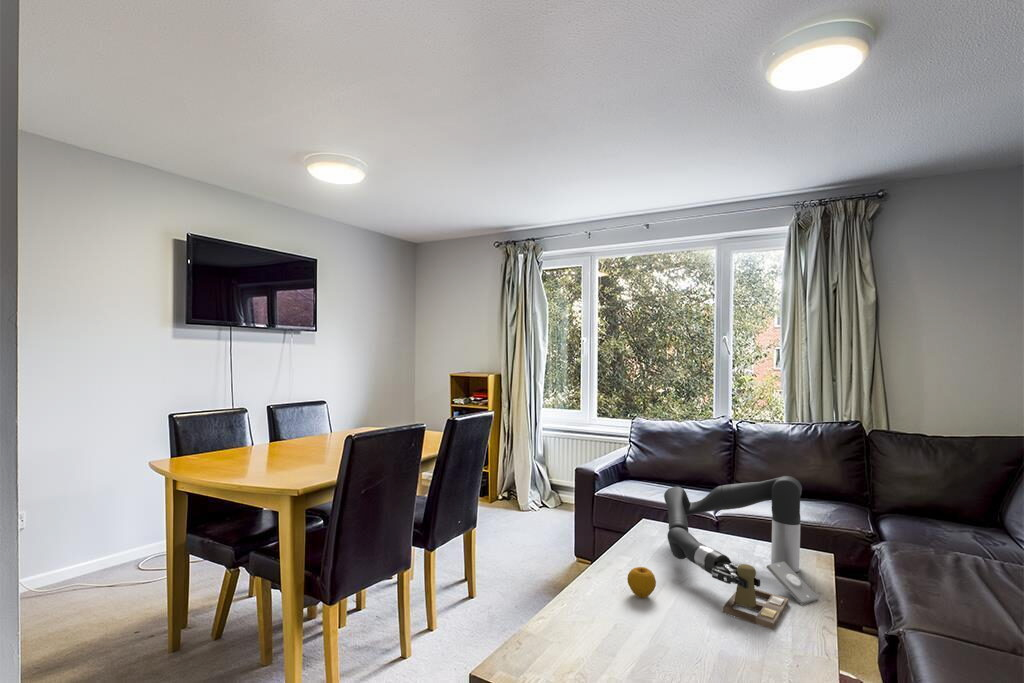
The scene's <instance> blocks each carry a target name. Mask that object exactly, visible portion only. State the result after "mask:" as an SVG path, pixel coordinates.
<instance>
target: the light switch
mask: <svg viewBox="0 0 1024 683" xmlns="http://www.w3.org/2000/svg"><path fill="white" fill-rule="evenodd" d="M766 569H767V570H768V571H769V572H770V573H771V574H772V575H773V577H774V578H776V580H778V582H779V583H780V584H781V585H782V586H783V587H784V589H785V590H786V591H787V592H788V593H789V594H790V595H791V596H792V597H793V598H794V600H796V601H797V602H798V604H799V605H801V604H802V605H805V603H806V604H809V602H810V603H812V601H813V602H817V601H818V600H819V599H820V596H819V595H818V594H816V593H815V592H814V591H813V590H812V589H811V587H810V586H809V585H808V584H807V583H806V582H805V581H804V580H803V579H802V578H801V577H800V576H799V575H798V574H797V572H796V573H795V572H794V571H793V570H792V569H791V568H790V567H789V566H788V565H787V564H786V563H785V562H779V563H775V564H771V563H770V564H767V566H766ZM816 600H817V601H816Z"/></svg>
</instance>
